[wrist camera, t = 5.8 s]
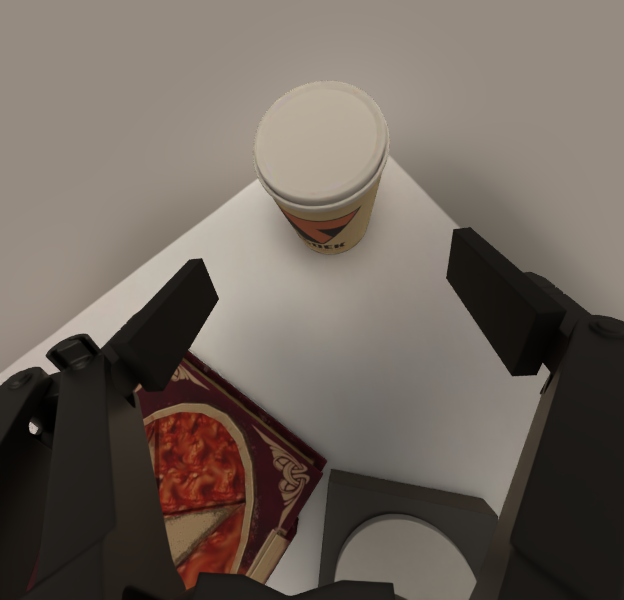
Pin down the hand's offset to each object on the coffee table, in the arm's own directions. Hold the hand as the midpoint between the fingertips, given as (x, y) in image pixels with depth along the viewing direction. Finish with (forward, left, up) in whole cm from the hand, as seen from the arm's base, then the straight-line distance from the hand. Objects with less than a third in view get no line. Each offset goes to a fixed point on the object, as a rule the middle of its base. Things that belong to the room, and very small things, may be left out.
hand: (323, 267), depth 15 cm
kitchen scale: (-7, +22, -13) cm, 27 cm away
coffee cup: (+2, -9, -14) cm, 17 cm away
